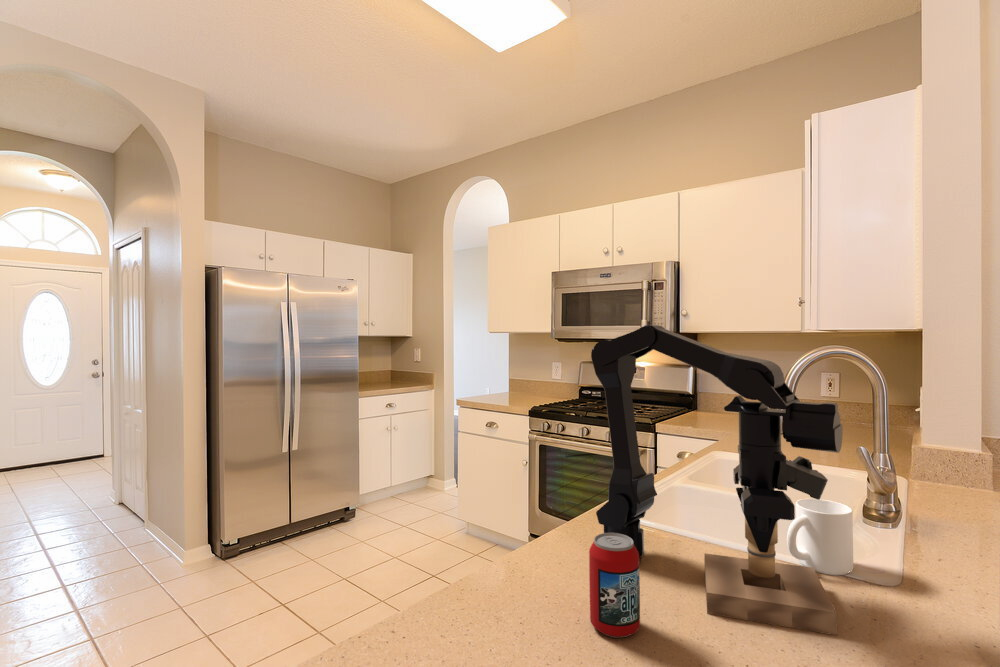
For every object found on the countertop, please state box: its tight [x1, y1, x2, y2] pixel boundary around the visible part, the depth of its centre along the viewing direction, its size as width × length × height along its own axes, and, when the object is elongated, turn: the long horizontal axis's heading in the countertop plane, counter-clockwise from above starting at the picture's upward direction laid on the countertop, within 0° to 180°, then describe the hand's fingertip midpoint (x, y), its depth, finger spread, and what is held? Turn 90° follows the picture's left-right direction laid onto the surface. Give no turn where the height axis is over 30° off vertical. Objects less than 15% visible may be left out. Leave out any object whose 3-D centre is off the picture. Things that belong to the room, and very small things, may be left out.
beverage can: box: [588, 532, 641, 639], centre depth 69 cm, size 7×7×12 cm
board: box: [703, 553, 838, 636], centre depth 76 cm, size 16×14×3 cm
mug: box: [786, 498, 854, 576], centre depth 87 cm, size 12×8×10 cm
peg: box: [744, 517, 779, 578], centre depth 76 cm, size 4×4×10 cm
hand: (761, 545), depth 76 cm, fingers closed on peg, 4 cm apart
